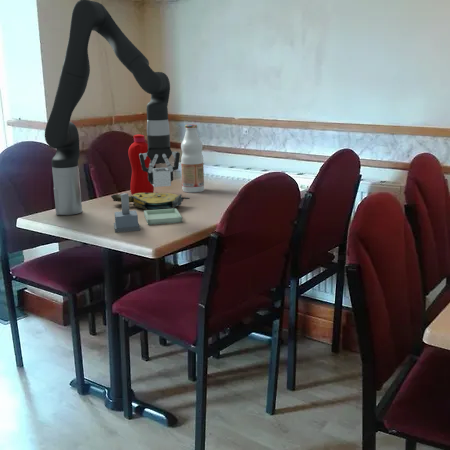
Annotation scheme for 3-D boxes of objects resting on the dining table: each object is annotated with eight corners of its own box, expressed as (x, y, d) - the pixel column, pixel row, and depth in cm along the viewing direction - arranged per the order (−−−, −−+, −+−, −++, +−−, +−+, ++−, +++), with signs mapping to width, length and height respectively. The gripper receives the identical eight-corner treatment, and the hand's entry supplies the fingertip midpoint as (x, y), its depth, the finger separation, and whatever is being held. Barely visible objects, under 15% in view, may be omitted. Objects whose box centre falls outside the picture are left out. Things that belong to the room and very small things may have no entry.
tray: (148, 224, 192) (147, 219, 192) (144, 215, 205) (143, 210, 204) (182, 222, 195) (182, 217, 194) (176, 213, 207) (176, 208, 207)
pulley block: (122, 185, 227) (190, 189, 216) (124, 198, 229) (191, 204, 218) (102, 195, 215) (173, 201, 204) (104, 210, 217) (174, 216, 206)
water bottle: (156, 196, 236) (152, 135, 230) (129, 196, 236) (125, 135, 230) (158, 191, 245) (156, 133, 238) (133, 192, 245) (129, 133, 239)
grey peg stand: (115, 232, 184) (112, 197, 181) (113, 226, 191) (111, 192, 188) (140, 230, 185) (138, 195, 182) (138, 224, 193) (135, 190, 190)
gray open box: (153, 187, 192) (153, 172, 191) (151, 182, 200) (150, 168, 198) (171, 185, 193) (170, 171, 192) (167, 181, 201) (167, 167, 200)
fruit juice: (184, 193, 241) (181, 126, 233) (180, 189, 250) (178, 124, 242) (206, 192, 243) (204, 125, 235) (202, 187, 252) (200, 123, 244)
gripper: (137, 135, 187) (140, 186, 191) (181, 133, 190) (183, 183, 194) (135, 133, 194) (138, 182, 198) (177, 131, 197) (179, 179, 201)
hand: (160, 182), depth 196 cm, fingers closed on gray open box, 5 cm apart
